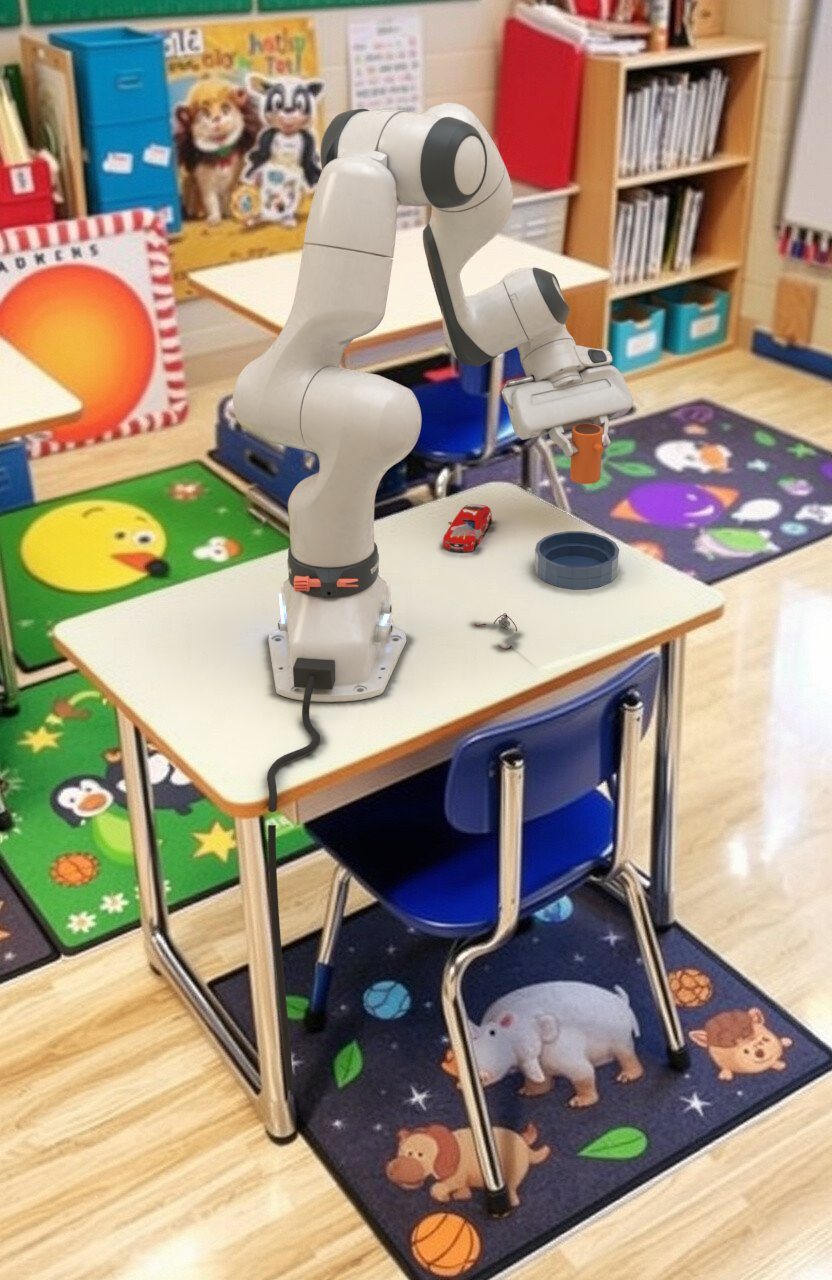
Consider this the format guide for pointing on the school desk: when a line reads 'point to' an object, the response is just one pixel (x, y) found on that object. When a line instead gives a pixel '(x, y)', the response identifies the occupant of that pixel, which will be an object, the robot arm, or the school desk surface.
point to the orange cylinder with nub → (587, 453)
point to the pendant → (503, 624)
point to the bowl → (576, 560)
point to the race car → (468, 528)
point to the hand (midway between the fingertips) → (589, 451)
